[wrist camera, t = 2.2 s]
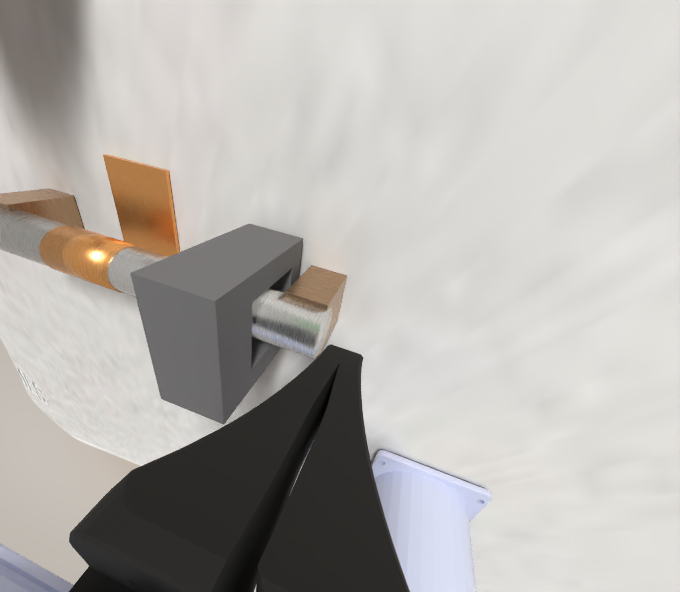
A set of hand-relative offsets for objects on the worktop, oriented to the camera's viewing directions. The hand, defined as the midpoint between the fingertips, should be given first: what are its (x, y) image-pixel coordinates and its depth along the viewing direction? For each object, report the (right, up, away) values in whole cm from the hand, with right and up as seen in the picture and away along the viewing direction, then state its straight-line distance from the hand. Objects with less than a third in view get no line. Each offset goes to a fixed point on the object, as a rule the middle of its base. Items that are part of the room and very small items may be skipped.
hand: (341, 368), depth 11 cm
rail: (-9, +5, +6) cm, 12 cm away
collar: (-4, +4, +5) cm, 7 cm away
